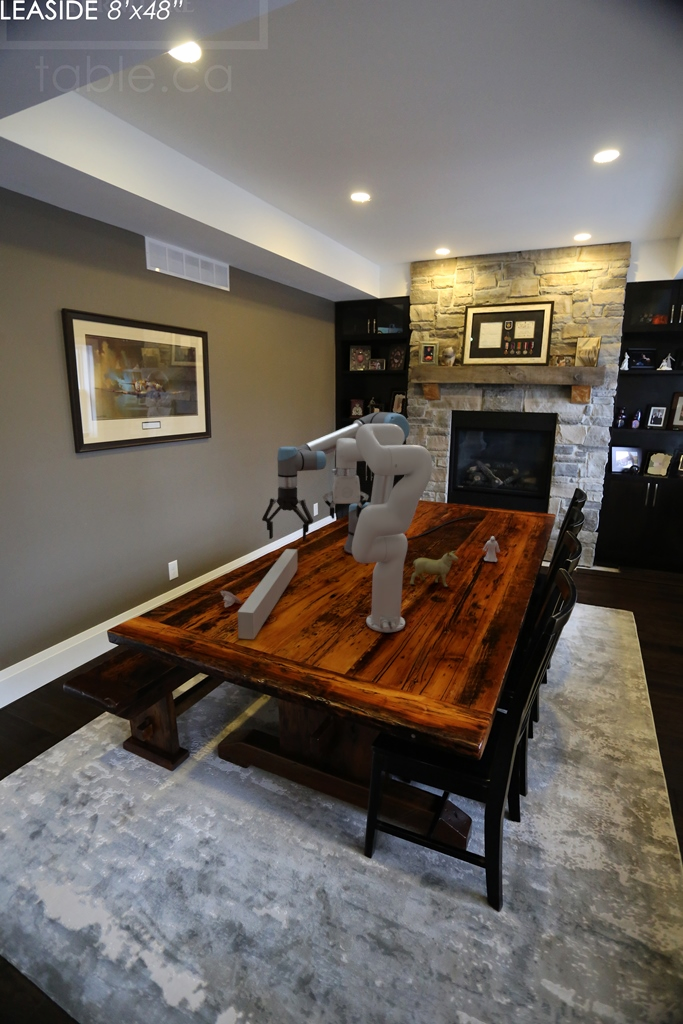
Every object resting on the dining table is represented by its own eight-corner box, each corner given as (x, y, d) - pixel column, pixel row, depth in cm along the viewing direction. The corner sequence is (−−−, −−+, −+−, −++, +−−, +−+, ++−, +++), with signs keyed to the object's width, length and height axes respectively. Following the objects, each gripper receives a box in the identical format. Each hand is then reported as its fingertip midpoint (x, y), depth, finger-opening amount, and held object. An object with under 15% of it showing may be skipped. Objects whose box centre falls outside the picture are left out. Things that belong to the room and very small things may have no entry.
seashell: (226, 615, 174) (211, 598, 174) (236, 605, 178) (222, 588, 177) (235, 611, 168) (219, 593, 168) (245, 600, 172) (230, 583, 171)
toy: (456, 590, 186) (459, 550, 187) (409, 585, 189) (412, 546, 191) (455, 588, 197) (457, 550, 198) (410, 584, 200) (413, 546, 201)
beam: (253, 639, 151) (253, 612, 149) (238, 638, 152) (237, 611, 150) (297, 569, 210) (297, 549, 208) (286, 568, 210) (286, 548, 208)
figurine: (481, 562, 222) (483, 536, 219) (482, 556, 230) (484, 531, 227) (499, 564, 220) (501, 538, 217) (499, 558, 228) (501, 533, 225)
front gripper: (324, 474, 178) (323, 520, 182) (371, 473, 181) (370, 519, 185) (321, 470, 185) (321, 515, 189) (367, 470, 188) (365, 514, 192)
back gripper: (320, 486, 197) (320, 538, 202) (259, 483, 200) (260, 534, 205) (317, 490, 189) (316, 543, 195) (253, 487, 192) (254, 539, 198)
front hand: (345, 517), depth 187 cm, fingers open, 9 cm apart
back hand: (287, 539), depth 200 cm, fingers open, 13 cm apart
